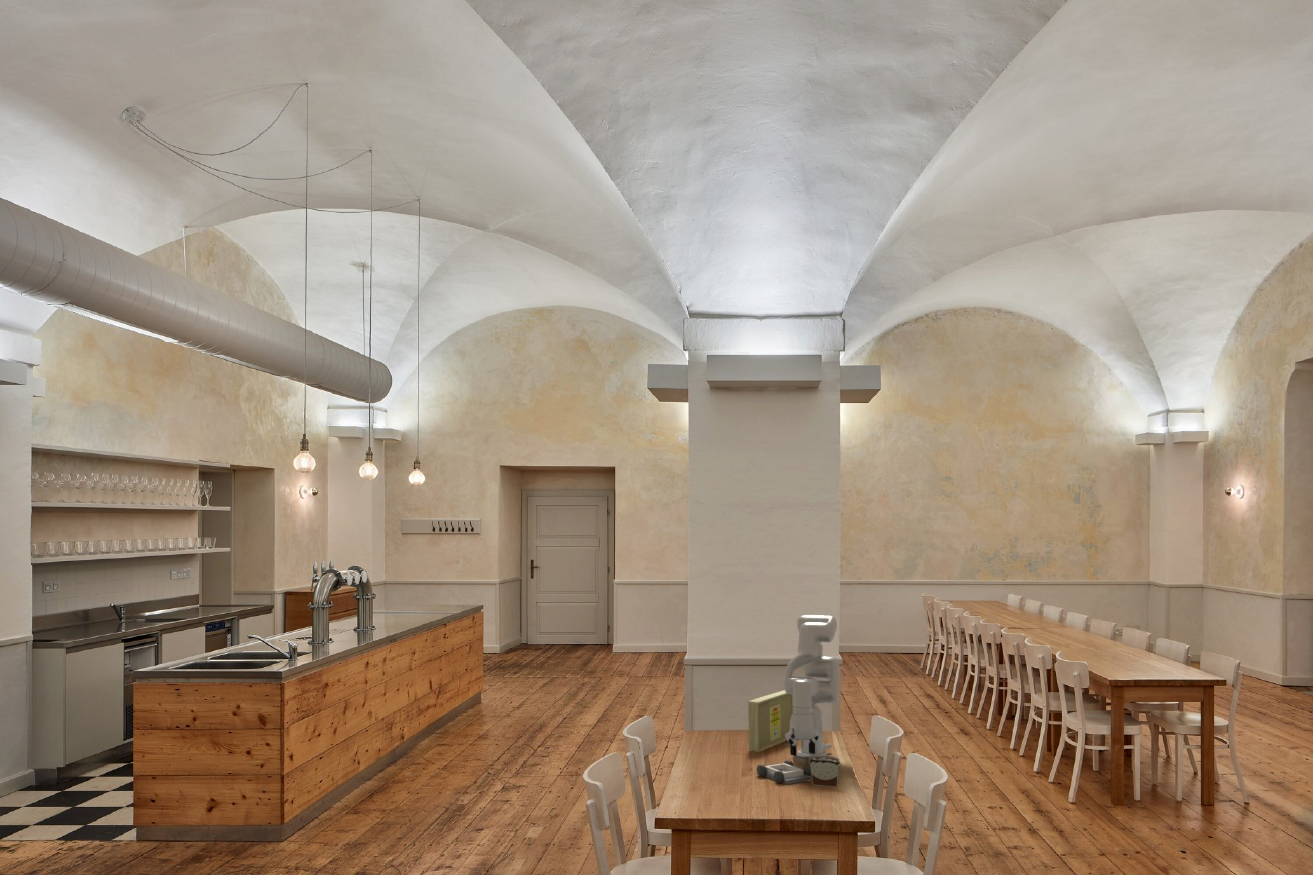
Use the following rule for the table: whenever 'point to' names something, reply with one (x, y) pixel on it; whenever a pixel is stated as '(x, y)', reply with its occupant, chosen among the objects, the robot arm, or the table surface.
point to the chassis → (785, 773)
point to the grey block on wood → (801, 760)
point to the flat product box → (769, 720)
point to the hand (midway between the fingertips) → (802, 754)
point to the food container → (824, 770)
